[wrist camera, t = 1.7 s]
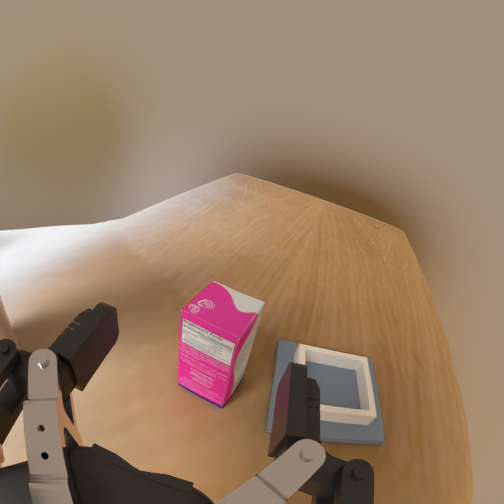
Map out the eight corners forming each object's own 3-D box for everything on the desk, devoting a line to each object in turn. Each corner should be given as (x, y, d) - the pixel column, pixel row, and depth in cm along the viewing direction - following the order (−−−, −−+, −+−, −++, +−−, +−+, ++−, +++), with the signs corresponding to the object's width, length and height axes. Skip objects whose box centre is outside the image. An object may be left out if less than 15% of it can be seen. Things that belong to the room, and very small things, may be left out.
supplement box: (201, 353, 33) (214, 277, 28) (244, 375, 31) (269, 302, 26) (174, 384, 28) (179, 307, 23) (222, 410, 26) (244, 340, 21)
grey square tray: (264, 432, 25) (273, 419, 24) (277, 343, 37) (283, 327, 36) (380, 444, 24) (394, 433, 23) (368, 362, 37) (377, 348, 35)
